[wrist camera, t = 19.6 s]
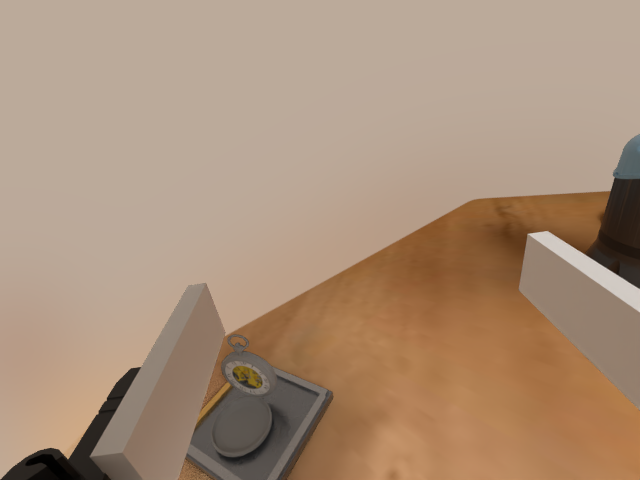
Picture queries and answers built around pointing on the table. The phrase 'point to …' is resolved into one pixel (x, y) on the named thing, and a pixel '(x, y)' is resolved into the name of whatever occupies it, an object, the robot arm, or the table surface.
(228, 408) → the pocket watch
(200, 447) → the pocket plate
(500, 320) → the table surface
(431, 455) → the table surface
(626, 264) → the robot arm
